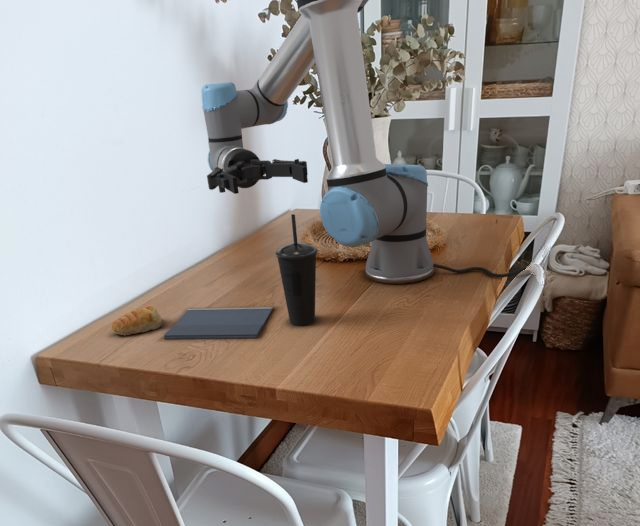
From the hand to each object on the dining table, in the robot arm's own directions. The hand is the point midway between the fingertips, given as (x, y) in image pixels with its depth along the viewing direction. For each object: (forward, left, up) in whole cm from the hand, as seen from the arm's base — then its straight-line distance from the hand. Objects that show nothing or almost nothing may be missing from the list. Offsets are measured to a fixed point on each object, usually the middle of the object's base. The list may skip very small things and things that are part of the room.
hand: (271, 180), depth 114 cm
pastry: (+27, +10, -25) cm, 38 cm away
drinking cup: (-5, +8, -25) cm, 26 cm away
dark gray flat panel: (+11, +8, -25) cm, 28 cm away
